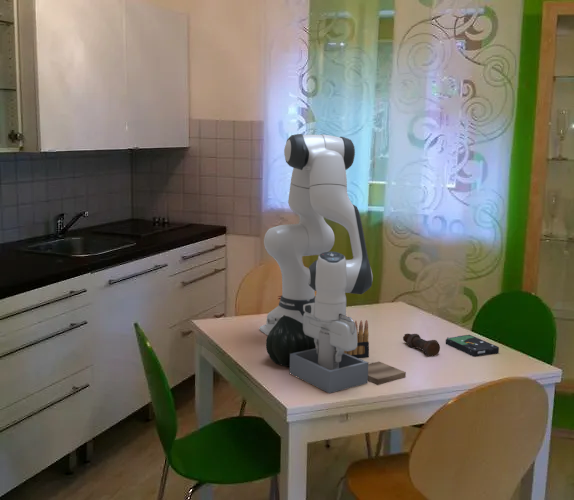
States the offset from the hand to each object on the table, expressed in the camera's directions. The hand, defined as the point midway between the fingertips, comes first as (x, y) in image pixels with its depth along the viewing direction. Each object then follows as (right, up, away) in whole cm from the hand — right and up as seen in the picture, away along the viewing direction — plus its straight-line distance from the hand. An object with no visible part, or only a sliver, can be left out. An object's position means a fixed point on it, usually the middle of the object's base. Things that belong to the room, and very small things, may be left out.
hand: (328, 357), depth 192 cm
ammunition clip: (+9, -3, +20) cm, 22 cm away
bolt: (+32, -2, +29) cm, 43 cm away
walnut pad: (+15, -6, +4) cm, 16 cm away
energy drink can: (0, -6, +1) cm, 6 cm away
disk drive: (+49, -3, +31) cm, 58 cm away
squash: (-11, -4, +14) cm, 18 cm away
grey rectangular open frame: (0, -6, +1) cm, 6 cm away
